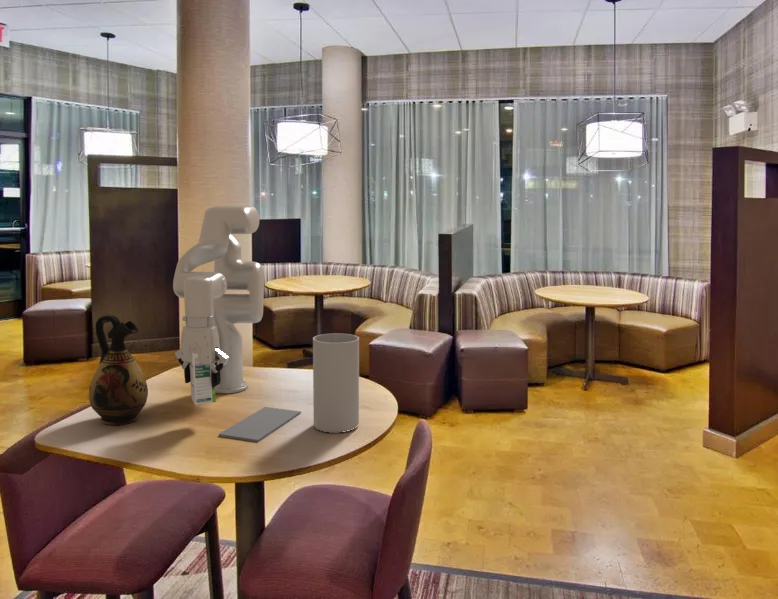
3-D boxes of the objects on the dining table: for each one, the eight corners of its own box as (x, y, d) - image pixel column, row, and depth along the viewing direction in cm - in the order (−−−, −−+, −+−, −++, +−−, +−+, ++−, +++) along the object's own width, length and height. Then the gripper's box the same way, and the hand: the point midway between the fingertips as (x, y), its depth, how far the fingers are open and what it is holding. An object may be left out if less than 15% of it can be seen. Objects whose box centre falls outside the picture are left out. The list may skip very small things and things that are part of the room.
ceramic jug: (160, 413, 185) (155, 312, 180) (128, 431, 170) (122, 322, 165) (108, 408, 188) (102, 309, 184) (73, 426, 173) (65, 319, 169)
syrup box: (195, 405, 172) (192, 354, 169) (190, 399, 177) (188, 349, 174) (216, 402, 174) (214, 351, 172) (211, 396, 180) (209, 346, 177)
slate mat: (218, 436, 167) (218, 433, 167) (265, 408, 190) (265, 406, 189) (258, 442, 163) (258, 439, 163) (301, 413, 186) (301, 411, 186)
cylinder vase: (317, 418, 182) (316, 333, 178) (360, 419, 181) (360, 333, 178) (310, 433, 169) (309, 342, 166) (356, 434, 169) (357, 343, 165)
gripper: (164, 321, 171) (167, 384, 174) (219, 327, 165) (221, 391, 168) (181, 316, 178) (184, 376, 181) (235, 321, 172) (237, 383, 175)
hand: (202, 383), depth 175 cm, fingers closed on syrup box, 8 cm apart
